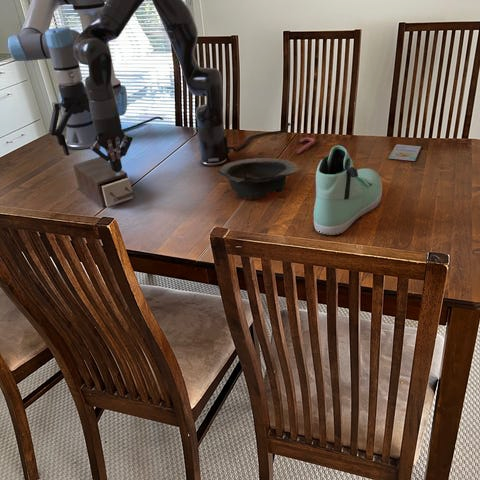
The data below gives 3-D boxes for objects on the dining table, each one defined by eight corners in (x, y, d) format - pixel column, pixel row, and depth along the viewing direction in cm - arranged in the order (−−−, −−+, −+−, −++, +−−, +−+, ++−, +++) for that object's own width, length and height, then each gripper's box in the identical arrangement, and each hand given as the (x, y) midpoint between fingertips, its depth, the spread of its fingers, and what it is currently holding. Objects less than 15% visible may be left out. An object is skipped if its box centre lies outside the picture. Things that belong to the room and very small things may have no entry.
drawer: (142, 203, 149) (138, 184, 146) (115, 213, 145) (111, 193, 141) (108, 180, 167) (104, 162, 163) (84, 188, 162) (79, 170, 159)
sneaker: (389, 187, 148) (396, 123, 138) (356, 242, 123) (361, 168, 112) (346, 181, 154) (350, 119, 144) (306, 232, 129) (307, 161, 118)
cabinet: (132, 197, 156) (127, 173, 151) (103, 207, 151) (96, 182, 146) (106, 179, 170) (101, 156, 166) (79, 187, 165) (72, 164, 161)
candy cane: (285, 152, 180) (284, 148, 179) (304, 139, 190) (304, 135, 189) (299, 154, 177) (299, 151, 176) (318, 141, 187) (318, 137, 186)
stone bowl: (243, 213, 140) (240, 183, 136) (209, 189, 160) (205, 162, 156) (313, 190, 149) (312, 161, 144) (272, 170, 169) (270, 144, 165)
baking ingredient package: (388, 157, 167) (396, 143, 178) (388, 158, 167) (396, 144, 179) (414, 160, 163) (421, 145, 175) (414, 161, 164) (421, 147, 175)
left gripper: (33, 93, 138) (53, 162, 149) (113, 76, 151) (126, 141, 162) (25, 89, 144) (45, 156, 155) (103, 73, 156) (116, 136, 167)
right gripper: (87, 122, 128) (101, 181, 137) (132, 111, 134) (143, 168, 143) (77, 116, 133) (91, 174, 142) (120, 106, 139) (132, 161, 148)
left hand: (86, 148), depth 158 cm, fingers open, 13 cm apart
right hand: (117, 171), depth 143 cm, fingers closed
